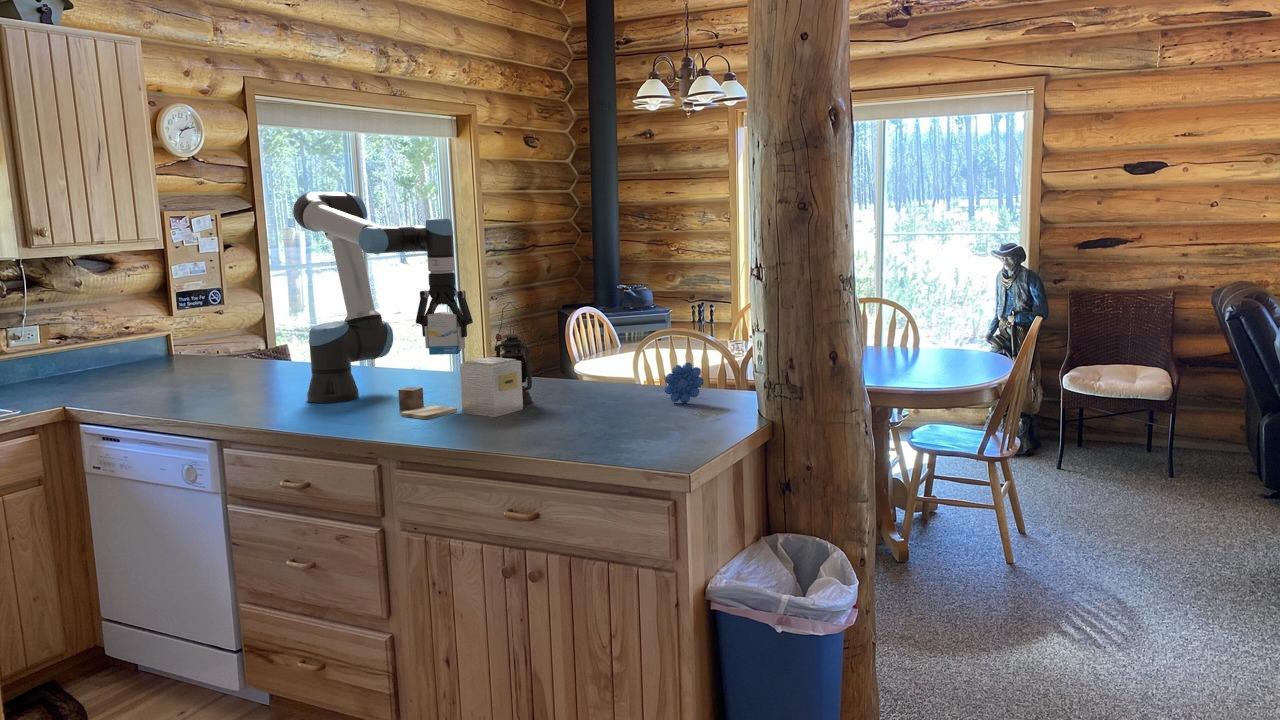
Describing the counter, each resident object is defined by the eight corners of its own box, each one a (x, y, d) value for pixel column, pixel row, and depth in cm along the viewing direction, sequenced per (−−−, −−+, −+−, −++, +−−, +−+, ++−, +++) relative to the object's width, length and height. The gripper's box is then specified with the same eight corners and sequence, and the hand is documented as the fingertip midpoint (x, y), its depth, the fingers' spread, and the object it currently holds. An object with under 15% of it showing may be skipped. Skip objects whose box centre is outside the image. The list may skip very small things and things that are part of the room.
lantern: (541, 400, 285) (538, 300, 280) (523, 407, 275) (518, 303, 271) (506, 398, 290) (502, 299, 286) (486, 404, 280) (482, 302, 276)
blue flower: (707, 401, 278) (706, 360, 277) (702, 405, 272) (701, 364, 270) (668, 399, 282) (667, 359, 280) (662, 404, 275) (661, 363, 274)
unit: (462, 413, 268) (460, 361, 266) (491, 405, 278) (488, 356, 276) (496, 417, 262) (493, 364, 260) (524, 409, 272) (522, 358, 270)
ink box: (458, 354, 276) (456, 314, 274) (428, 355, 275) (426, 314, 274) (462, 350, 284) (460, 311, 283) (433, 351, 284) (431, 311, 282)
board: (400, 416, 266) (400, 412, 266) (431, 408, 276) (431, 405, 276) (426, 419, 261) (426, 415, 261) (457, 411, 271) (457, 408, 271)
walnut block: (399, 410, 275) (398, 389, 274) (408, 407, 280) (407, 386, 279) (414, 411, 273) (413, 390, 273) (423, 407, 278) (422, 387, 277)
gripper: (400, 273, 276) (404, 349, 280) (470, 272, 269) (474, 350, 273) (414, 271, 283) (418, 345, 287) (482, 271, 276) (486, 347, 280)
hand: (445, 348), depth 280 cm, fingers closed on ink box, 10 cm apart
